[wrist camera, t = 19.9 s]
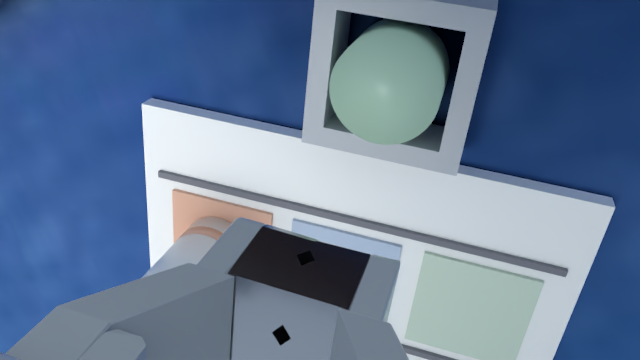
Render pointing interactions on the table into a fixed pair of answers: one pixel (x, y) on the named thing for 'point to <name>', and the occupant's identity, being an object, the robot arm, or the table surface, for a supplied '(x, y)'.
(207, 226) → the marker
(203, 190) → the board
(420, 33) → the button
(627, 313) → the table surface
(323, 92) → the button housing
